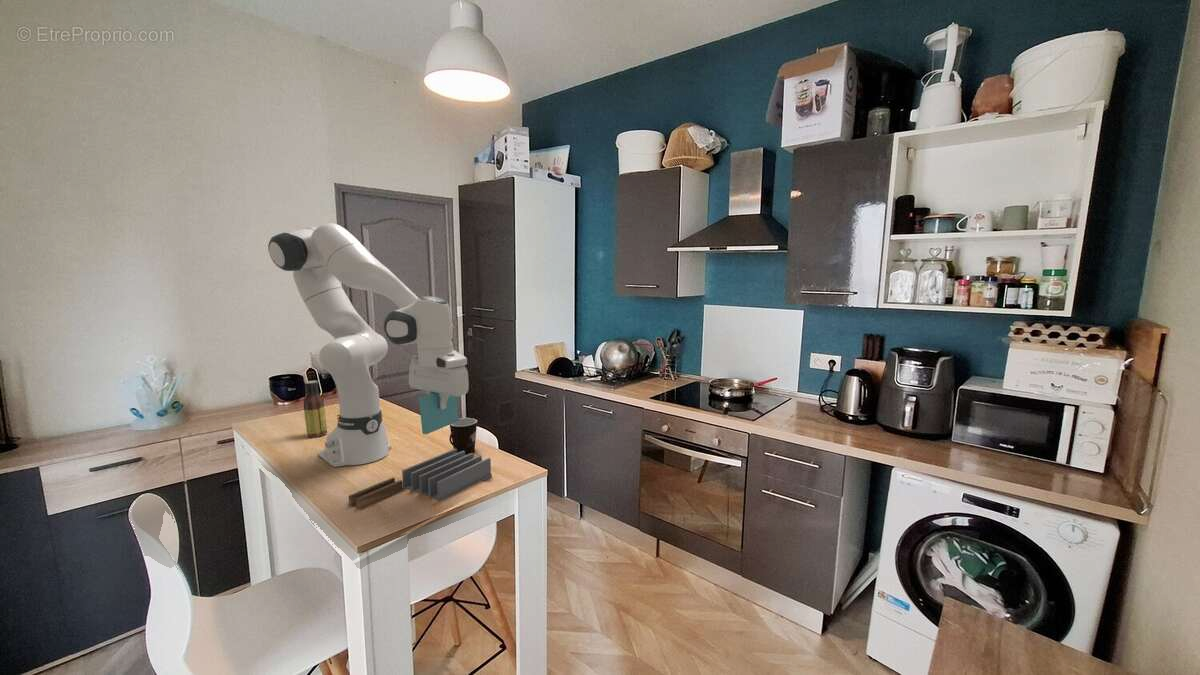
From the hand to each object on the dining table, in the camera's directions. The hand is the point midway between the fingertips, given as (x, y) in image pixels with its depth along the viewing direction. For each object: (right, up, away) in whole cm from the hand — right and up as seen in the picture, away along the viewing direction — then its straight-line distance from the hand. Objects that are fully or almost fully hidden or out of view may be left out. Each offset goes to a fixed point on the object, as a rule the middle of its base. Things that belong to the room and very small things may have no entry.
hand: (438, 407), depth 123 cm
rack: (+2, -21, +2) cm, 21 cm away
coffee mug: (-2, -19, +24) cm, 31 cm away
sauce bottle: (-58, -16, +40) cm, 73 cm away
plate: (0, -5, +1) cm, 6 cm away
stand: (-13, -22, -7) cm, 27 cm away
